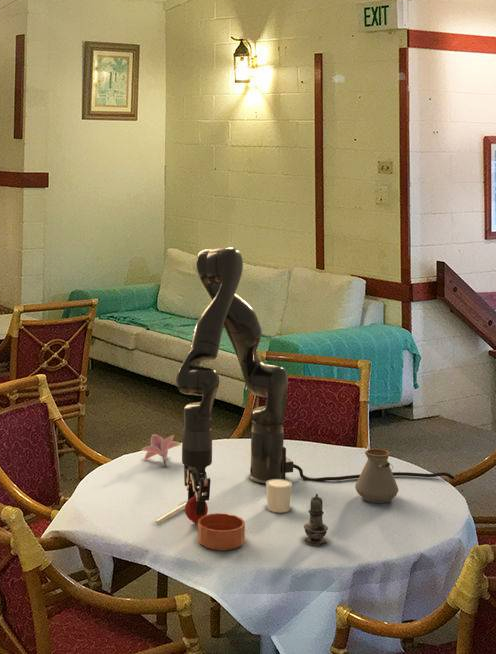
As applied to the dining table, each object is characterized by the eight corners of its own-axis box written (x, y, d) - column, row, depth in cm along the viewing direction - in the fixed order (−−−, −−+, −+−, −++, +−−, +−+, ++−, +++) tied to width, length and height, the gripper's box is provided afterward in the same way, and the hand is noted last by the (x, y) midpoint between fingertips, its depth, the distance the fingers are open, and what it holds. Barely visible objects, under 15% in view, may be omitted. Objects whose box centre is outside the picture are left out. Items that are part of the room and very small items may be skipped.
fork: (150, 522, 244) (151, 515, 243) (194, 499, 260) (194, 492, 260) (161, 525, 242) (161, 518, 241) (204, 502, 258) (204, 495, 258)
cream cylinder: (274, 515, 249) (275, 489, 248) (260, 506, 255) (260, 480, 254) (296, 510, 252) (297, 485, 251) (281, 502, 258) (282, 477, 257)
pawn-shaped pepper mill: (309, 534, 237) (311, 487, 235) (331, 540, 233) (333, 492, 232) (298, 542, 232) (300, 494, 230) (321, 548, 229) (322, 499, 227)
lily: (187, 463, 292) (179, 432, 295) (181, 460, 281) (172, 428, 284) (149, 474, 293) (141, 443, 296) (142, 471, 282) (134, 439, 285)
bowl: (234, 530, 239) (234, 511, 238) (251, 548, 228) (252, 528, 228) (191, 535, 236) (191, 515, 235) (207, 554, 225) (207, 533, 224)
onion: (205, 528, 240) (206, 498, 239) (182, 526, 241) (183, 496, 240) (209, 520, 246) (209, 489, 245) (186, 518, 247) (187, 488, 246)
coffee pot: (351, 490, 267) (353, 437, 265) (393, 491, 267) (395, 438, 265) (364, 519, 246) (366, 463, 244) (409, 520, 246) (412, 464, 244)
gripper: (221, 452, 235) (220, 519, 237) (201, 435, 249) (201, 498, 251) (192, 455, 233) (191, 522, 235) (174, 438, 246) (173, 501, 249)
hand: (196, 509), depth 243 cm, fingers closed on onion, 6 cm apart
